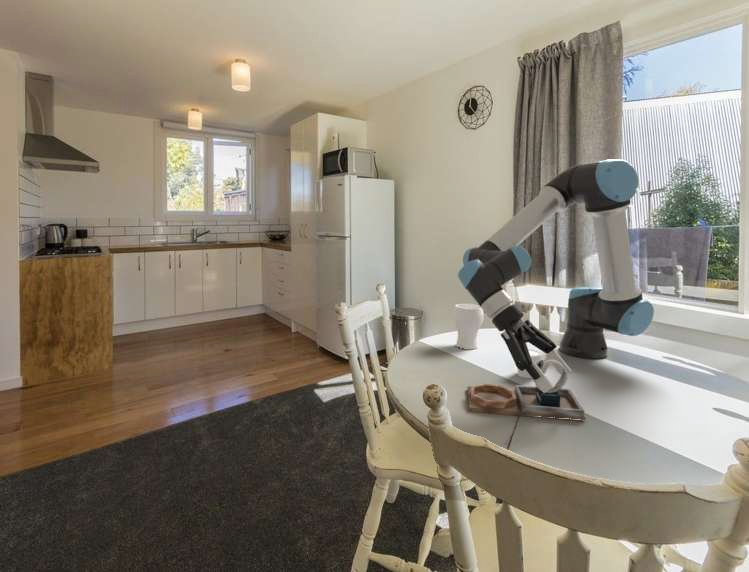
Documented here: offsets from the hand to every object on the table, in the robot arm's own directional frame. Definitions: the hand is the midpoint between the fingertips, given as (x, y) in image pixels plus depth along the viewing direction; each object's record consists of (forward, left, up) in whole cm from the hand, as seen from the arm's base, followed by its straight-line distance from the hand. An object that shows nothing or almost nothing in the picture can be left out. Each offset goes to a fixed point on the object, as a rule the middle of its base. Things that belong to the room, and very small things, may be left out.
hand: (558, 381), depth 100 cm
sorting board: (+8, -1, -7) cm, 11 cm away
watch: (+2, -1, -6) cm, 7 cm away
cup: (+20, -48, -7) cm, 52 cm away
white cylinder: (+3, -23, -7) cm, 24 cm away
